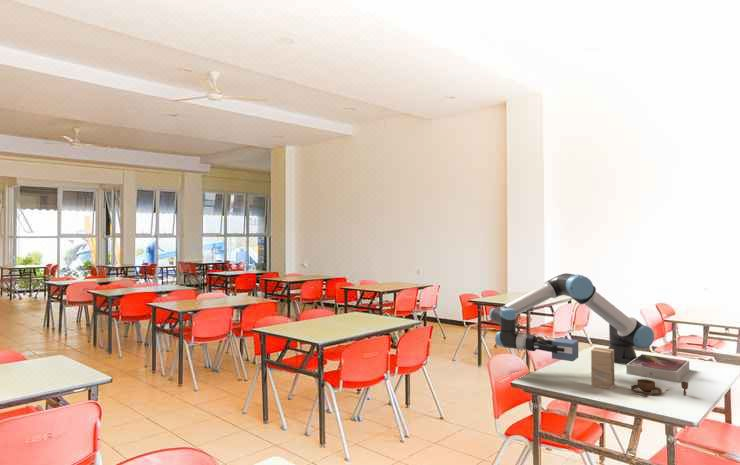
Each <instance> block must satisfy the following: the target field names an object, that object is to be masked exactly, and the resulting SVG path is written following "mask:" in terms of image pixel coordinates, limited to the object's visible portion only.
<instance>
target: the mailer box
mask: <svg viewBox="0 0 740 465" xmlns="http://www.w3.org/2000/svg"><path fill="white" fill-rule="evenodd" d="M590 351H591V352H590V353H591V354H590V356H591V357H590V361H591V363H590V364H591V366H590V367H591V368H590V369H591V370H590V372H591V375H590V376H591V386H593V387H598V388H605V389H610V390H611V389H612V388H613V386H614V385H615V362H614V349H608V348H607V347H598V346H595V347H594V348H592V349H591V350H590Z"/></svg>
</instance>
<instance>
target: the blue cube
mask: <svg viewBox="0 0 740 465" xmlns="http://www.w3.org/2000/svg"><path fill="white" fill-rule="evenodd" d="M552 340H553V341H552V345H553V346H563V347H571V348H572V354H569V353H561V352H557V354H555V353H552V352H551V359H553V360H554V359H555V360H560V361H561V360H562V361H566V362H567V361H568V362H575V361H576V360H577V359H578V358H579V339H578V340H577V339H570V338H561V337H557V338H555V339H552Z"/></svg>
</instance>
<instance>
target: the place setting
mask: <svg viewBox="0 0 740 465" xmlns="http://www.w3.org/2000/svg"><path fill="white" fill-rule="evenodd" d="M680 386H681V388H682V389H683V391H682V393H683V395H682V396H687V395H686V394H687V389H688V388H689V383H688V381H681V382H680ZM630 389H631V391H632V392H631V395H638V396H641V397H643V398H645V397H646V398H647V397H648V396H659V395H661V394H662V392H663V389H661V388H660V387H658V386H656V382H655V381H654V380H652V379H647V378H642V379H639V378H638V379H637V381H636V384H632V385H630ZM637 389H639V390H637ZM653 391H656V392H653ZM665 391H666V392H667V391H669V389H666V390H665Z"/></svg>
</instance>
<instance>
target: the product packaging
mask: <svg viewBox="0 0 740 465" xmlns="http://www.w3.org/2000/svg"><path fill="white" fill-rule="evenodd" d="M625 365H626V375H627V374H628V375H632V374H633V375H634V376H640V377H645V378H651V379H658V380H662V381H669V382H674V383H675V382H676V383H677V382H679V381H680V380H681V379H682V378H683V377H684V376H685V375H686V374H687V373H688V372H689V371H690V360H686V359H680V358H674V357H673V358H672V357H664V356H658V355H651V354H644V353H641V354H640V355H638V356H637V358H635V359H634V360H632V361H631V362H629V363H628V364H625Z"/></svg>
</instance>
